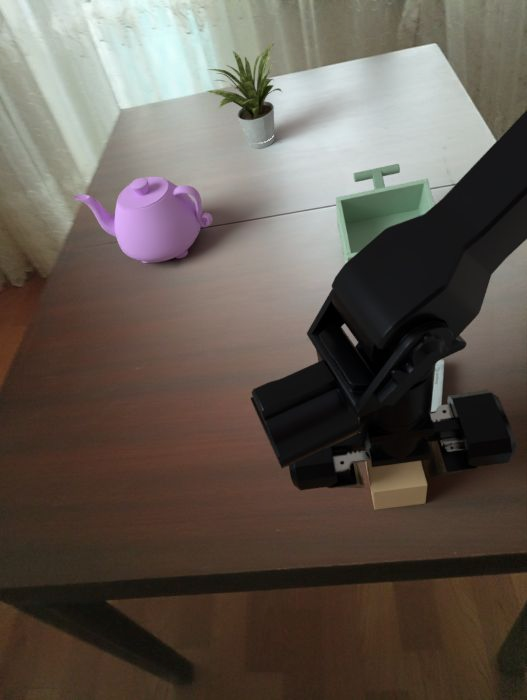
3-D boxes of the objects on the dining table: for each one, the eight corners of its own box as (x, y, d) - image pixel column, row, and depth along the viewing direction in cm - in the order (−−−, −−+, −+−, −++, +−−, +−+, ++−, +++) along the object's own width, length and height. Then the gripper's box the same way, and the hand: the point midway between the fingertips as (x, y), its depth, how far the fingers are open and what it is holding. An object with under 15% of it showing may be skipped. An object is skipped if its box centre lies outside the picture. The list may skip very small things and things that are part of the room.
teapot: (98, 281, 82) (59, 222, 73) (116, 227, 91) (84, 168, 81) (214, 265, 78) (189, 200, 69) (222, 210, 87) (201, 146, 78)
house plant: (257, 115, 106) (238, 31, 94) (311, 123, 99) (298, 33, 87) (216, 151, 100) (190, 66, 88) (270, 162, 93) (251, 72, 81)
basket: (333, 202, 74) (331, 174, 67) (415, 185, 72) (421, 154, 66) (347, 279, 70) (347, 258, 64) (434, 263, 69) (443, 239, 62)
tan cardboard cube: (413, 457, 52) (414, 436, 49) (425, 503, 49) (427, 485, 46) (365, 464, 53) (363, 444, 49) (374, 510, 50) (372, 492, 46)
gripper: (484, 298, 42) (465, 397, 54) (268, 336, 45) (295, 423, 56) (536, 409, 35) (501, 496, 47) (276, 447, 37) (306, 520, 49)
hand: (394, 478), depth 50 cm, fingers open, 6 cm apart
